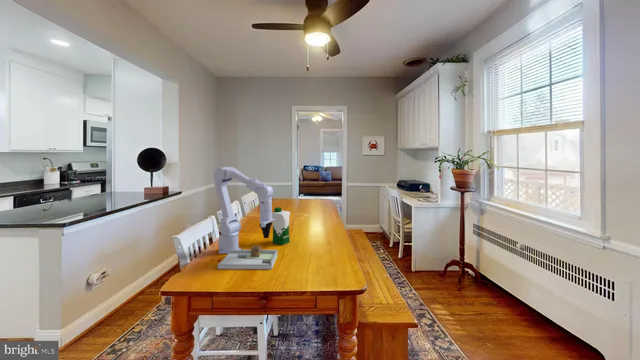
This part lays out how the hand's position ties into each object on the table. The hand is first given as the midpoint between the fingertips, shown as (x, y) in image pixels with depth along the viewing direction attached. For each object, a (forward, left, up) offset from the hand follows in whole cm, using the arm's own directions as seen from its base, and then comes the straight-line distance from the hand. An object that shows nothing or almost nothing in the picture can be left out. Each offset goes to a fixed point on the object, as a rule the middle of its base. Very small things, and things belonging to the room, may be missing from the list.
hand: (266, 237), depth 137 cm
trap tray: (-7, -6, -10) cm, 14 cm away
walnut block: (-5, -2, -8) cm, 10 cm away
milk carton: (+4, +22, -10) cm, 25 cm away
